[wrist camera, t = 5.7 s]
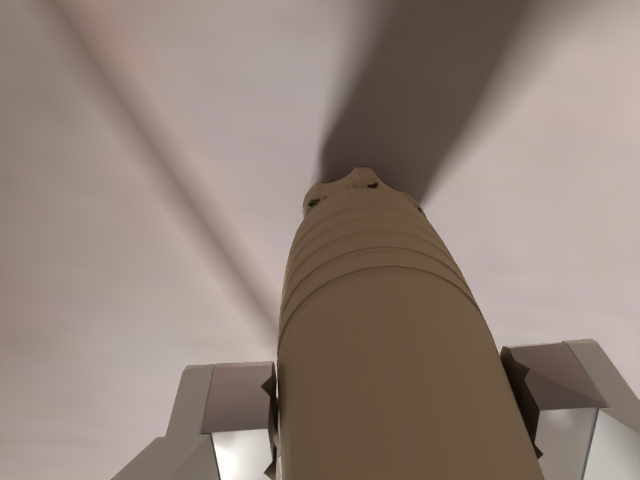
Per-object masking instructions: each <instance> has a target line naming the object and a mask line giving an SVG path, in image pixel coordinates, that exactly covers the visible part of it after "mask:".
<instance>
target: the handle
mask: <svg viewBox="0 0 640 480" xmlns="http://www.w3.org/2000/svg"><path fill="white" fill-rule="evenodd" d="M302 211H303V213H304V220H303V221H302V223H301V225H300V226H299V228H298V230H297V232H296V235H295V238H294V241H293V244H292V247H291V250H290V253H289V257H288V261H287V265H286V271H285V277H284V285H283V291H282V298H281V306H280V316H279V336H278V351H277V356H278V359H277V379H278V400H279V421H280V442H281V464H282V480H545V478H544V475H543V473H542V470H541V467H540V464H539V462H538V459H537V456H536V454H535V451H534V448H533V446H532V443H531V440H530V437H529V435H528V432H527V429H526V427H525V424H524V421H523V418H522V416H521V413H520V410H519V408H518V405H517V402H516V399H515V397H514V394H513V391H512V389H511V386H510V383H509V380H508V378H507V375H506V372H505V370H504V367H503V364H502V361H501V359H500V356H499V353H498V351H497V348H496V345H495V342H494V340H493V337H492V334H491V332H490V330H489V328H488V325H487V323H486V321H485V319H484V317H483V315H482V313H481V311H480V309H479V307H478V305H477V303H476V301H475V299H474V297H473V295H472V293H471V291H470V289H469V287H468V285H467V283H466V281H465V279H464V277H463V275H462V273H461V271H460V269H459V268H458V266H457V264H456V262H455V261H454V260H453V258H452V256H451V254H450V252H449V251H448V249H447V247H446V246H445V244H444V242H443V241H442V239H441V238H440V237H439V235H438V234H437V232H436V231H435V230H434V228H433V227H432V225H431V224H430V223H429V221H428V220H427V217H426V216H425V214H424V212H423V210H422V209H421V207H420V206H419V204H418V203H417V201H416V200H415V199H414V198H413V197H412V196H411V195H410V194H409V193H408V192H399V191H396V190H394V189H392V188H390V187H389V186H387V185H386V184H385V183H383V182H382V181H381V180H380V179H379V178H378V177H377V175H376V173H375V172H374V170H373V169H371V168H366V167H355V168H354V169H353V170H352V171H351V173H349V174H348V175H347V176H345V177H343V178H341V179H339V180H337V181H334V182H331V183H321V182H320V183H316V184H315V185H314V186H313V187H312V188H311V189H310V190H309V191H308V192H307V194H306V196H305V198H304V202H303V208H302Z"/></svg>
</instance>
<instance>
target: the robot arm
mask: <svg viewBox="0 0 640 480" xmlns="http://www.w3.org/2000/svg"><path fill="white" fill-rule="evenodd" d="M500 359H501V361H502V364H503V367H504V370H505V372H506V375H507V378H508V380H509V383H510V386H511V389H512V391H513V394H514V397H515V399H516V402H517V405H518V408H519V410H520V413H521V416H522V418H523V421H524V424H525V427H526V429H527V432H528V435H529V437H530V440H531V443H532V446H533V448H534V451H535V454H536V456H537V459H538V462H539V464H540V467H541V470H542V473H543V475H544V478H545V480H640V400H639V399H638V398H637V396H636V395H635V393H634V392H633V391H632V389H631V388H630V387H629V385H628V384H627V382H626V381H625V380H624V378H623V377H622V376H621V374H620V373H619V371H618V370H617V369H616V367H615V366H614V365H613V363H612V362H611V360H610V359H609V358H608V356H607V355H606V354H605V352H604V351H603V349H602V348H601V347H600V345H599V344H598V343H597V342H596V341H594V340H593V339H582V340H571V341H562V342H555V343H541V344H527V345H514V346H503V348H502V350H501V353H500ZM276 384H277V378H276V372H275V365H274V362H273V361H268V362H245V363H222V364H216V365H214V364H209V365H189V366H186V368H185V369H184V370H183V372H182V376H181V380H180V384H179V387H178V391H177V395H176V399H175V402H174V406H173V410H172V414H171V417H170V421H169V425H168V429H167V432H166V436H165V437H158V438H156V439H154V440H153V441H152V442H151V443H150V444H149V445H148V446H147V447H146V448H145V449H144V450H142V451H141V452H140V453H139V454H138V455H137V456H136V457H135V458H134V459H133V460H132V461H131V462H129V463H128V464H127V465H126V466H125V467H124V468H123V469H122V470H121V471H120V472H119V473H117V474H116V475H115V476H114V477H113V478H112V479H111V480H280V479H281V476H280V467H279V459H278V458H279V457H280V456H281V442H280V421H279V400H278V398H277V397H276Z"/></svg>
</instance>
